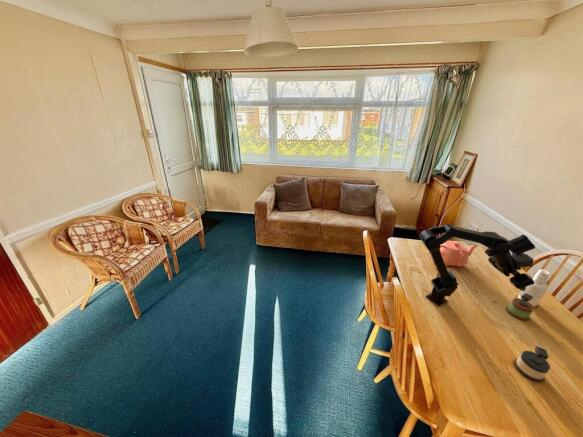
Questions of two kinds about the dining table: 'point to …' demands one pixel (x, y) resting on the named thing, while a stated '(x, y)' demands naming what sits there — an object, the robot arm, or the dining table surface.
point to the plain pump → (541, 353)
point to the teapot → (455, 253)
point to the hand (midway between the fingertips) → (515, 283)
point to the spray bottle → (537, 287)
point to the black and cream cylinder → (532, 366)
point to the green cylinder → (520, 309)
